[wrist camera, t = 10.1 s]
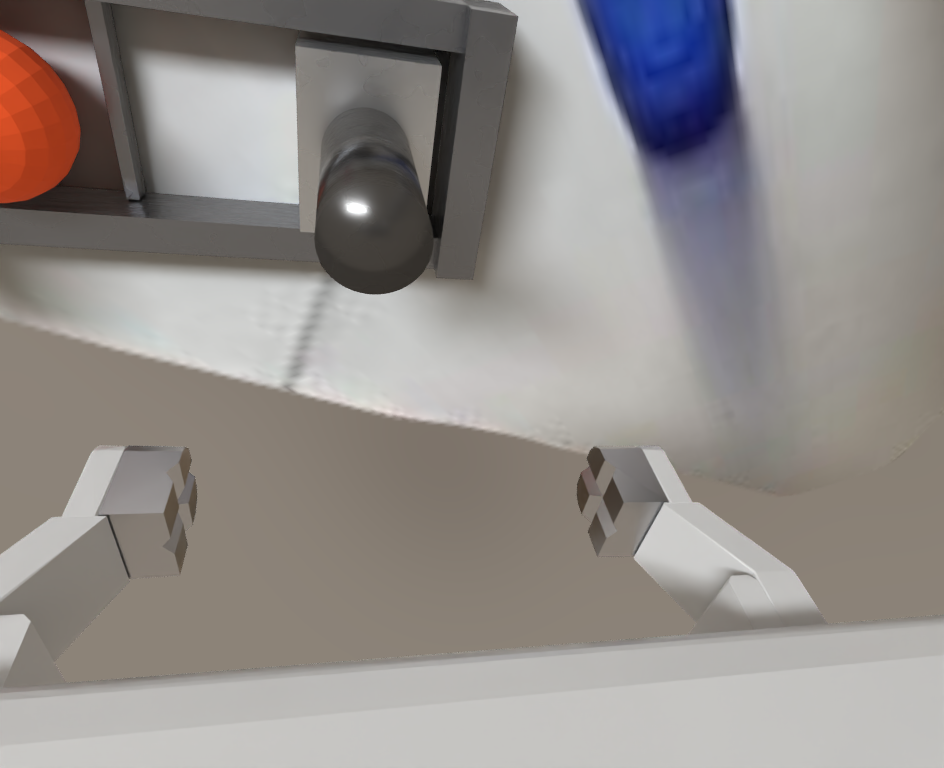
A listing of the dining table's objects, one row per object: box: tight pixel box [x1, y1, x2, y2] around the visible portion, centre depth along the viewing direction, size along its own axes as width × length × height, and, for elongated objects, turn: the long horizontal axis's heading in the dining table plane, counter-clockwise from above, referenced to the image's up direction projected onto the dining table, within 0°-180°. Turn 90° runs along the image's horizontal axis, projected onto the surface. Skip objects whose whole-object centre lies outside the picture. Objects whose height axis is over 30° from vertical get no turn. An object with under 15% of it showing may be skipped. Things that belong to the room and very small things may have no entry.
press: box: [0, 0, 518, 280], centre depth 25 cm, size 30×12×8 cm, turn 81°
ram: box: [295, 30, 442, 294], centre depth 25 cm, size 6×8×13 cm
